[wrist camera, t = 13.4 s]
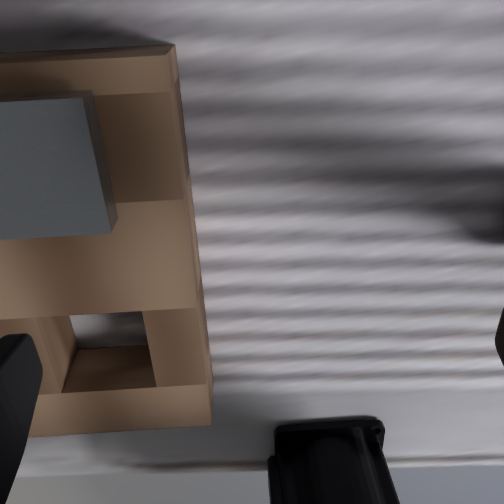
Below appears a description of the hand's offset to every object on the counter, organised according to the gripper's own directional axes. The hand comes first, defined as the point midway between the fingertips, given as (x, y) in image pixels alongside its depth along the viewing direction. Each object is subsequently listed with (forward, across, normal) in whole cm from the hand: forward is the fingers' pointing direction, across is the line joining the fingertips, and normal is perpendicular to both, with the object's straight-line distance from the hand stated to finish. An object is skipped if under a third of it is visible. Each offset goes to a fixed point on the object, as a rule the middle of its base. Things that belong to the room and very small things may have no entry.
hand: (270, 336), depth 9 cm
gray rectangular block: (+12, +7, -1) cm, 14 cm away
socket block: (+12, +7, +4) cm, 14 cm away
